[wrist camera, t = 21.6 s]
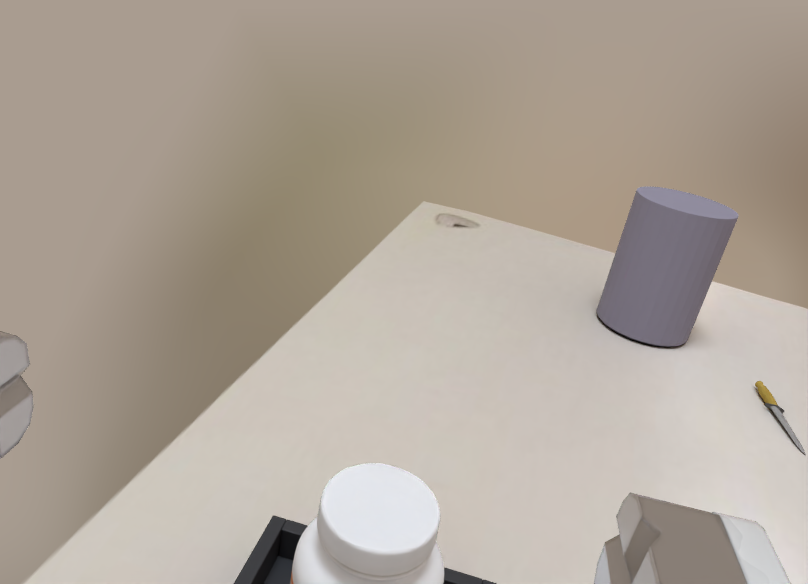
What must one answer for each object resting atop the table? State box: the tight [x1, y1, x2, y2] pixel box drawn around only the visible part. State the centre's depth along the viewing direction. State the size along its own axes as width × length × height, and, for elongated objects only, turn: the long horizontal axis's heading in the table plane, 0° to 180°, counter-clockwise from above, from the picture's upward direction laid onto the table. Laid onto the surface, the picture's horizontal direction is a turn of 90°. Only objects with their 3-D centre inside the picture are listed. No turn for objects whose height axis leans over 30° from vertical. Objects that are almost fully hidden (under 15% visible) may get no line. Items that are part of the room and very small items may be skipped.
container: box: [597, 187, 738, 347], centre depth 69 cm, size 10×10×15 cm
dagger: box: [755, 381, 805, 454], centre depth 58 cm, size 11×1×2 cm
